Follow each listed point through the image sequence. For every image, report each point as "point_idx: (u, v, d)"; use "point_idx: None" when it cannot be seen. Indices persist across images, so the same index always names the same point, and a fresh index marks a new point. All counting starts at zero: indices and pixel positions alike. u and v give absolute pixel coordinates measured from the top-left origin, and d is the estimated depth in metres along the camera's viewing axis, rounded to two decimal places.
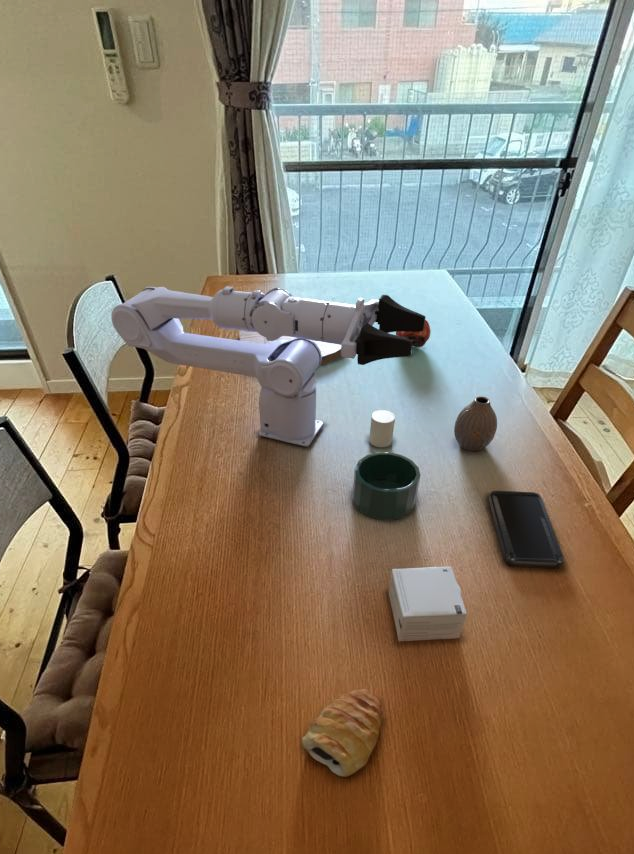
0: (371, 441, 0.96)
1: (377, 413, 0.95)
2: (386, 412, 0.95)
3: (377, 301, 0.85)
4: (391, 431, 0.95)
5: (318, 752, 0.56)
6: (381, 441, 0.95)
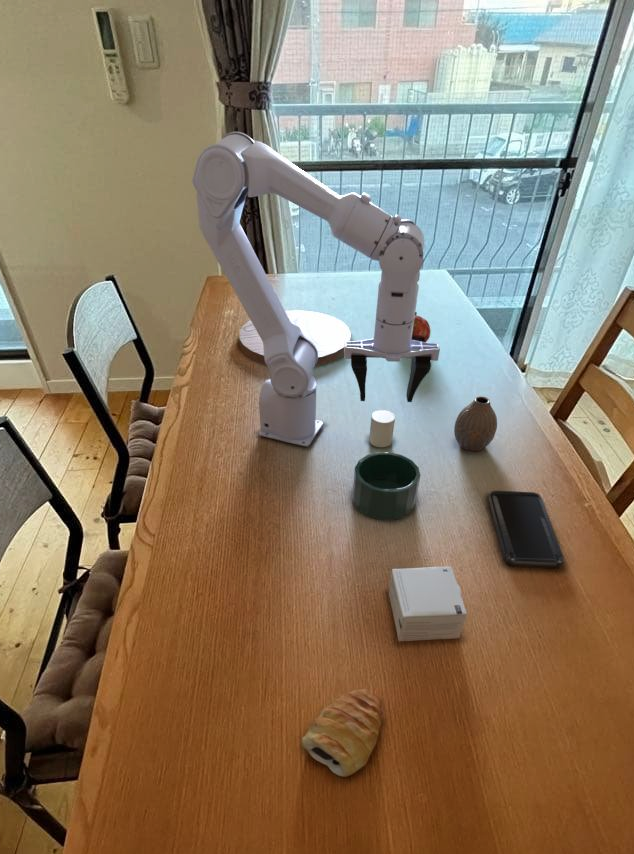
0: (371, 441, 0.96)
1: (377, 413, 0.95)
2: (386, 412, 0.95)
3: (435, 355, 0.85)
4: (391, 431, 0.95)
5: (318, 752, 0.56)
6: (381, 441, 0.95)
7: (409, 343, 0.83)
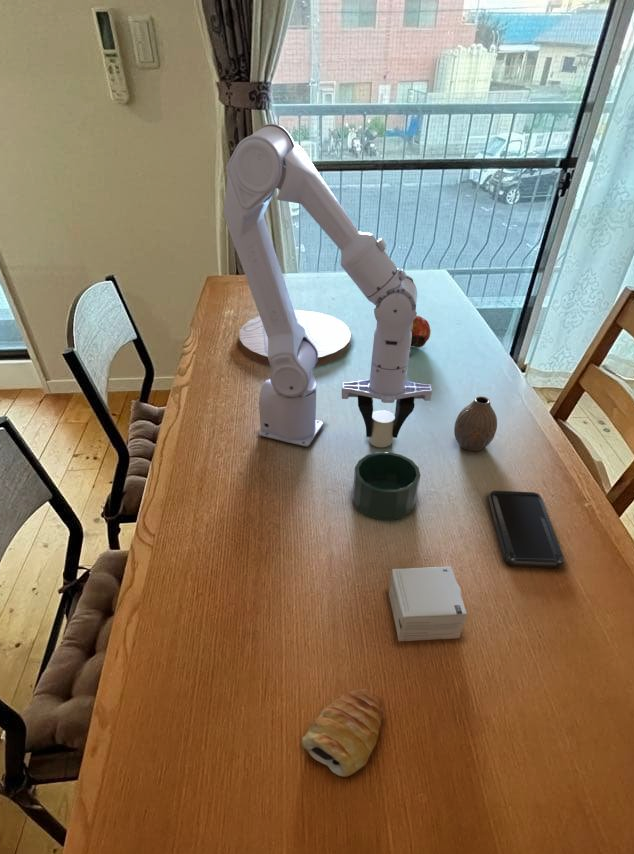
0: (371, 441, 0.96)
1: (377, 413, 0.95)
2: (386, 412, 0.95)
3: (428, 396, 0.90)
4: (391, 431, 0.95)
5: (318, 752, 0.56)
6: (381, 441, 0.95)
7: (403, 385, 0.88)
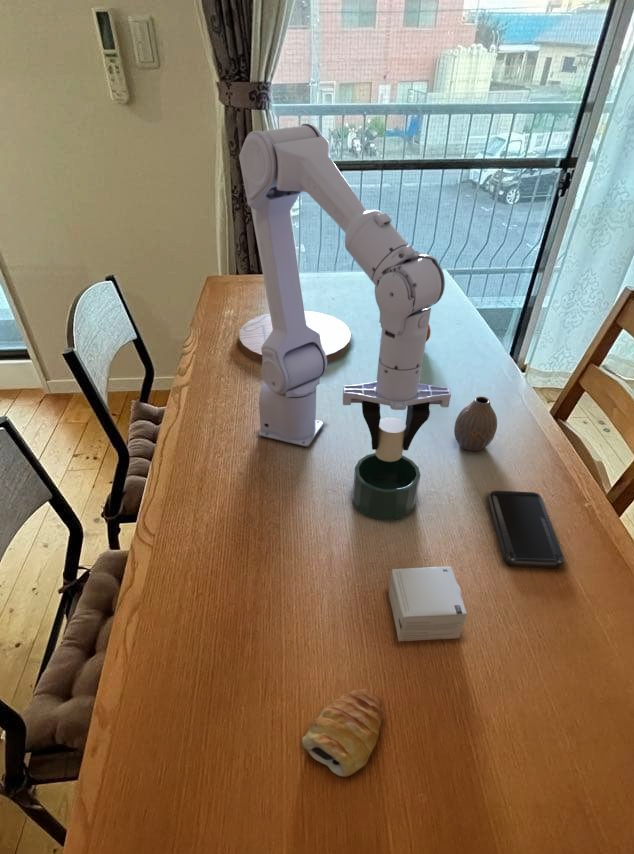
0: (378, 454, 0.82)
1: (385, 421, 0.80)
2: (396, 420, 0.80)
3: (446, 401, 0.75)
4: (401, 443, 0.80)
5: (318, 752, 0.56)
6: (389, 454, 0.81)
7: (416, 389, 0.74)
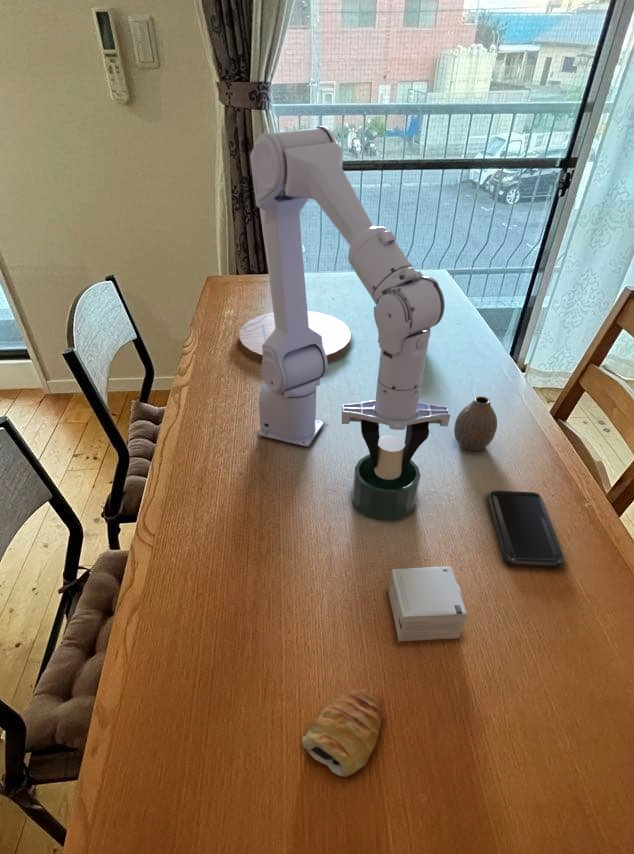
0: (377, 472, 0.81)
1: (384, 439, 0.80)
2: (395, 438, 0.80)
3: (445, 421, 0.75)
4: (401, 461, 0.80)
5: (318, 752, 0.56)
6: (388, 473, 0.80)
7: (416, 408, 0.73)
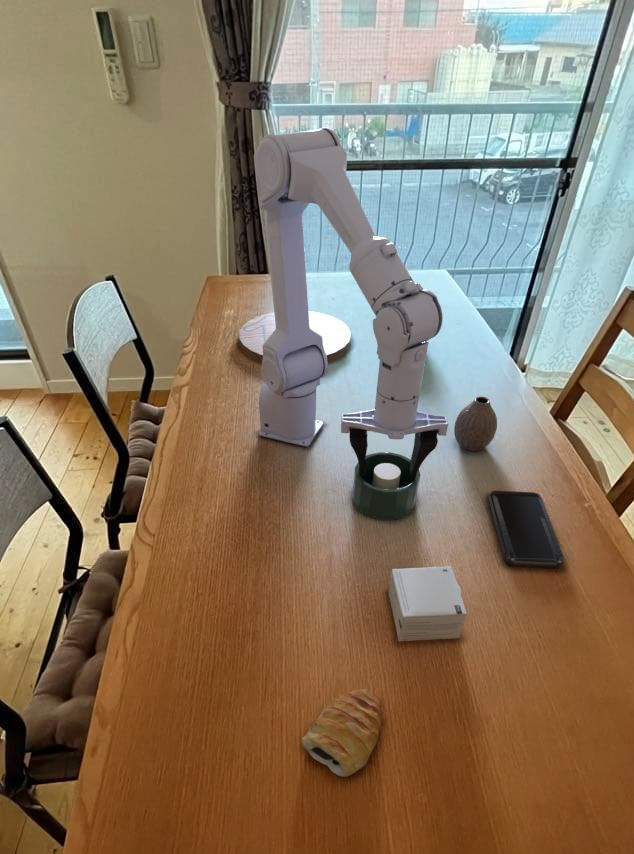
0: None
1: (380, 467, 0.83)
2: (391, 465, 0.83)
3: (443, 430, 0.76)
4: (396, 488, 0.83)
5: (318, 752, 0.56)
6: None
7: (414, 418, 0.74)
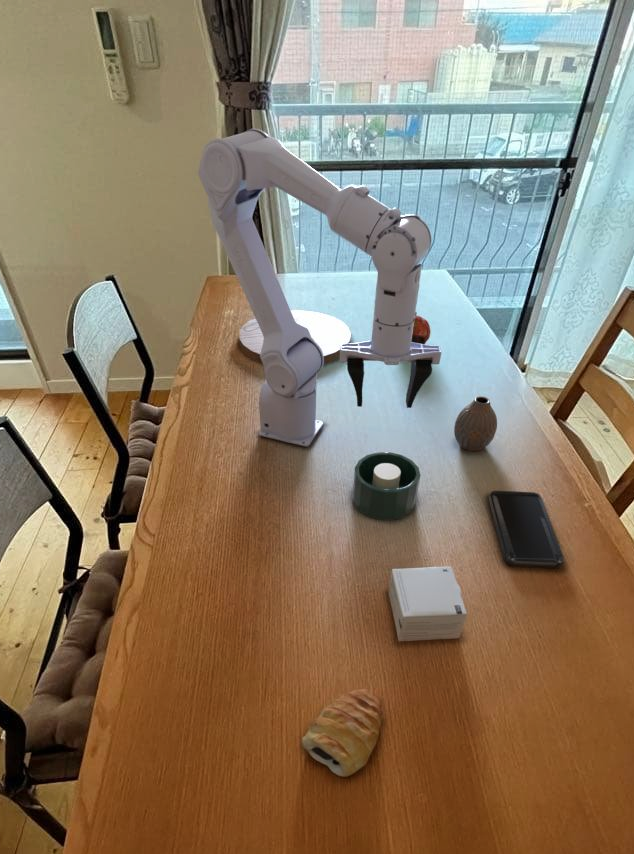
0: None
1: (380, 467, 0.83)
2: (391, 465, 0.83)
3: (436, 359, 0.80)
4: (396, 488, 0.83)
5: (318, 752, 0.56)
6: None
7: (409, 345, 0.78)
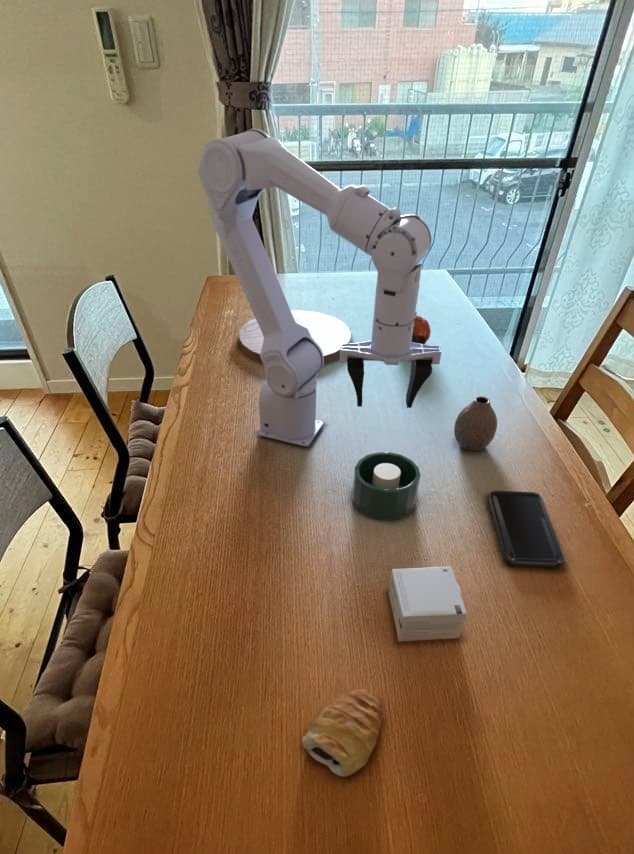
0: None
1: (380, 467, 0.83)
2: (391, 465, 0.83)
3: (436, 359, 0.80)
4: (396, 488, 0.83)
5: (318, 752, 0.56)
6: None
7: (409, 345, 0.78)
